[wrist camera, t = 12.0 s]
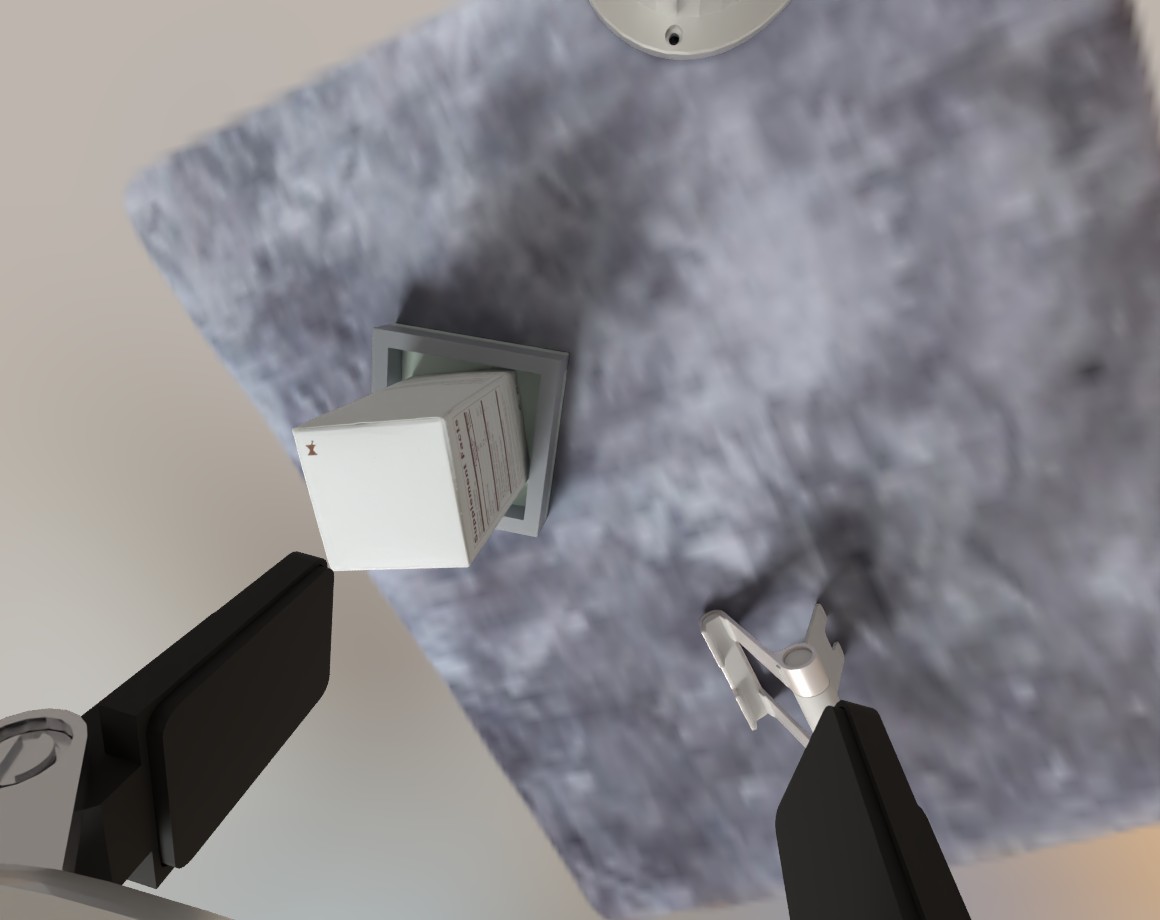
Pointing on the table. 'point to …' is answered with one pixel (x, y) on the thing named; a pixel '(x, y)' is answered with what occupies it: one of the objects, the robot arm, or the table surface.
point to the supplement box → (416, 470)
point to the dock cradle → (445, 352)
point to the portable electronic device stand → (777, 669)
